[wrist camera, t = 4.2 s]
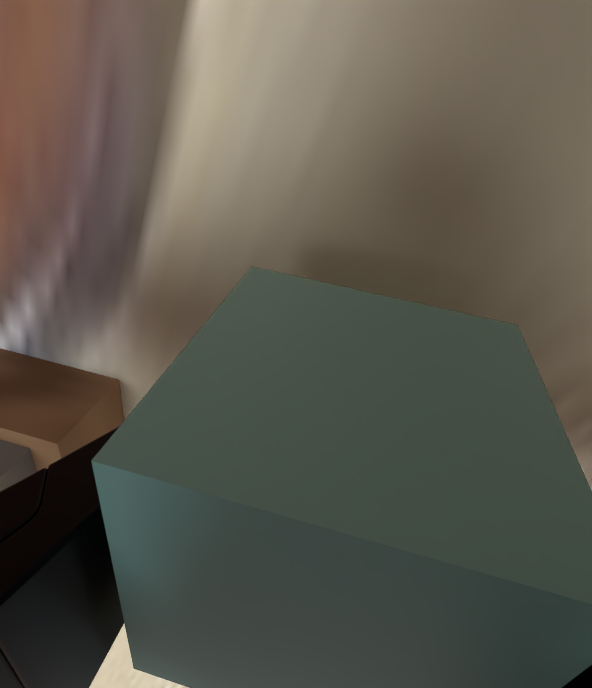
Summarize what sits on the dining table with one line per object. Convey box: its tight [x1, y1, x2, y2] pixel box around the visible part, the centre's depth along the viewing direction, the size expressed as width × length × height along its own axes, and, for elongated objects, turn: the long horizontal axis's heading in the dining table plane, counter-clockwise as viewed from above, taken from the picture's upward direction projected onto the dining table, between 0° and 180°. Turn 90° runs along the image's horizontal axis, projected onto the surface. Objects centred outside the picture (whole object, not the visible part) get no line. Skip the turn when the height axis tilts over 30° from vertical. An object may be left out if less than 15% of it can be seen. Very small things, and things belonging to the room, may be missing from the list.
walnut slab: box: [0, 349, 124, 472], centre depth 16 cm, size 8×8×4 cm
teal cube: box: [91, 267, 592, 688], centre depth 7 cm, size 5×5×5 cm
